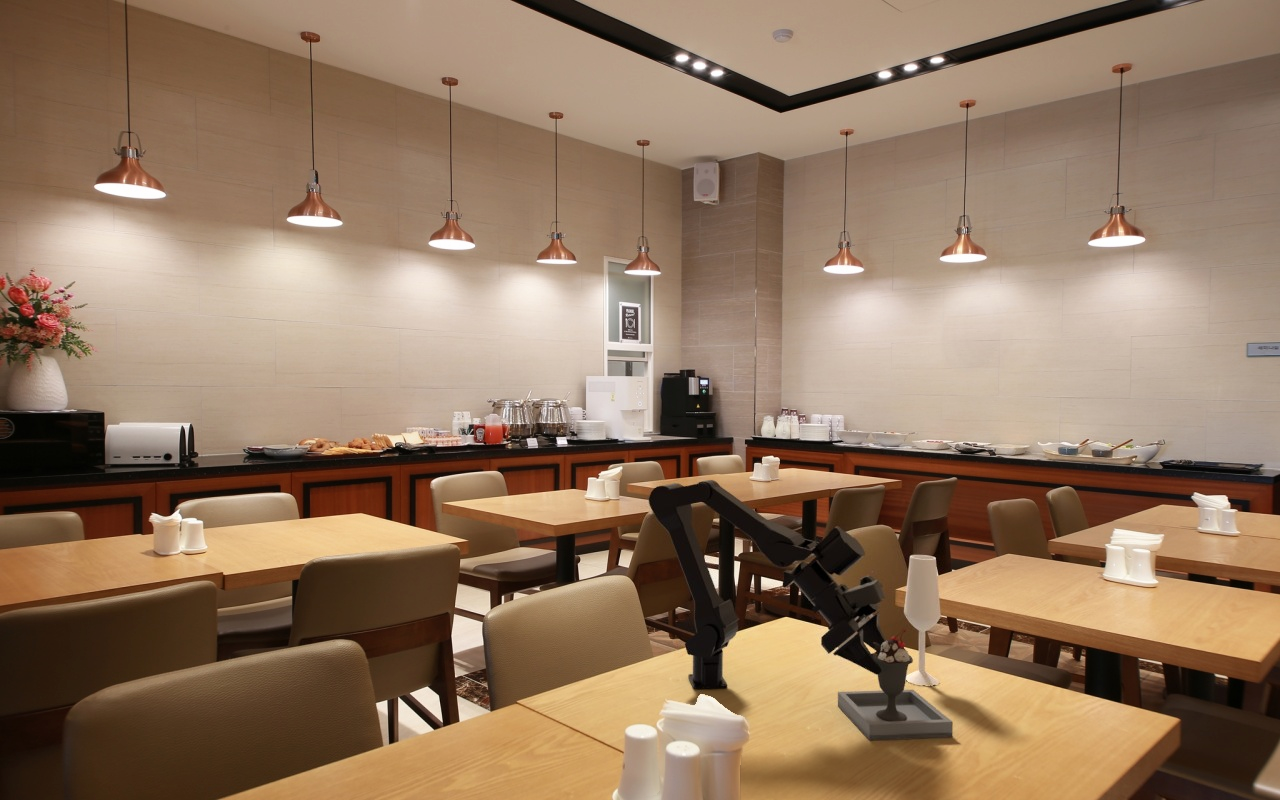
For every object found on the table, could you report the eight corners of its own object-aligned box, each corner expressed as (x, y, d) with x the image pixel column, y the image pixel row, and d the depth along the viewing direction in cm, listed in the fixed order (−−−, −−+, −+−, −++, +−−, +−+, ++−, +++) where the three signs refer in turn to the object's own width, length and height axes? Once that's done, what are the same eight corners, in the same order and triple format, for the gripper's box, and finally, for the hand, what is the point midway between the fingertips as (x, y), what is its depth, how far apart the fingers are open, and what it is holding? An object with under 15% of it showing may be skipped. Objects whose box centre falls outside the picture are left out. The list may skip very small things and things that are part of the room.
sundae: (920, 721, 130) (921, 632, 130) (886, 726, 128) (886, 635, 128) (897, 706, 136) (897, 621, 136) (863, 710, 134) (864, 624, 134)
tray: (837, 705, 138) (837, 691, 138) (913, 703, 140) (913, 689, 140) (869, 740, 124) (869, 724, 124) (952, 737, 126) (952, 721, 126)
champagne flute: (902, 683, 149) (903, 559, 149) (904, 672, 156) (905, 552, 156) (939, 688, 147) (940, 562, 147) (940, 677, 153) (941, 555, 153)
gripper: (841, 573, 127) (910, 652, 122) (868, 554, 143) (930, 623, 138) (794, 614, 131) (859, 692, 125) (825, 590, 147) (884, 659, 142)
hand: (885, 664), depth 133 cm, fingers open, 9 cm apart
